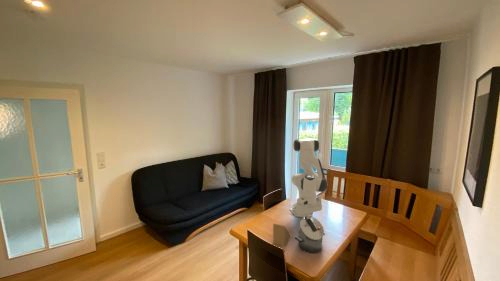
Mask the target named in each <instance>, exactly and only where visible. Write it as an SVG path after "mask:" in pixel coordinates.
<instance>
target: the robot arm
mask: <svg viewBox="0 0 500 281" xmlns="http://www.w3.org/2000/svg"><path fill="white" fill-rule="evenodd" d="M292 143H293V144H292V147H293V150H294V151H295V152H299V155H298V156H299V157H298V160H299V161H298V162H299V164H298V165H299V168H300V169H301V170H304V172H303V173H302V172H301V173H296V174H293V175H292V176H291V182H292V184H293V185H294V186H295V187H296V189H297V191H298V192H297V193H298V198H296V202H295V203H293V204H292V207H290V209H289V211H290V212H291V213H292V214H293V215H294V216H295V217H298V218H304V217H306V216H307V219H311V218H312V217H313V214H314V213H316V212H320V211H322V210H323V204H322V198H321V197H318V196H317V194H316V193H317V192H318V193H325V191H326V190H328V187H329V186H328V180H327V179H326V175H325V172H324V170H323V166H322V162H321V160H320V158H318V157H317V156H316V154H315V152H318V151H319V149H320V148H321V145H320V142H319V139H316V138H313V139H312V138H300V139H298V138H297V139H294V141H293V142H292ZM313 168H315V170H316V172H315V171H314V169H313Z"/></svg>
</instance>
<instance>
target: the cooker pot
mask: <svg viewBox="0 0 500 281" xmlns="http://www.w3.org/2000/svg"><path fill="white" fill-rule="evenodd" d="M323 236H326V234H325V232H324V235H323ZM294 239H295V240H296V241H297V246H298V248H299V249H300V250H301V251H303V252H304V253H307V254H318V253H321V251H322V250H323V239H322V240H319V241H316V240H311V239H309V238H308V237H306V236H305V235H304V233H303V232H302V230H301V229H299V231H298V235H297V236H295V238H294Z"/></svg>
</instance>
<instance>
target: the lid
mask: <svg viewBox="0 0 500 281" xmlns="http://www.w3.org/2000/svg"><path fill="white" fill-rule="evenodd" d="M299 227H300V230H302V232H303V233H304V235H305V236H306V237H308V238H309V239H311V240H316V241H319V240H322V241H323V237H324V236H325V235H324V233H325V229H324V226H323V224H322V223H321V222H320V221H319V220H318V219H317V218H315V217H313V216H312V218H311V219H307V216H306V217H304V218H303V217H301V220H300V222H299Z"/></svg>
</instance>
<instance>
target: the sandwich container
mask: <svg viewBox="0 0 500 281" xmlns="http://www.w3.org/2000/svg"><path fill="white" fill-rule="evenodd" d="M272 228H273V229H272V230H273V232H272V233H273V234H272V237H273V242H272V244H275V245H278V246H281V247H286V245H287V244H288V242H289V240H290V239H291V237H292V235H291V234H290V233H289V231H288V230H287V228H286V226H284V225H282V224H278V223H273V226H272Z"/></svg>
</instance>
